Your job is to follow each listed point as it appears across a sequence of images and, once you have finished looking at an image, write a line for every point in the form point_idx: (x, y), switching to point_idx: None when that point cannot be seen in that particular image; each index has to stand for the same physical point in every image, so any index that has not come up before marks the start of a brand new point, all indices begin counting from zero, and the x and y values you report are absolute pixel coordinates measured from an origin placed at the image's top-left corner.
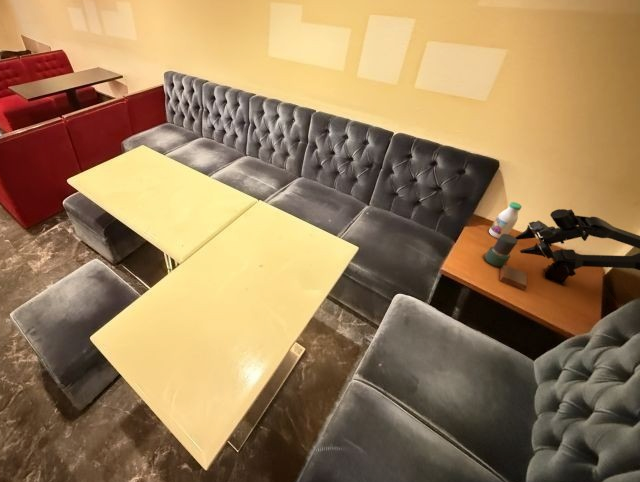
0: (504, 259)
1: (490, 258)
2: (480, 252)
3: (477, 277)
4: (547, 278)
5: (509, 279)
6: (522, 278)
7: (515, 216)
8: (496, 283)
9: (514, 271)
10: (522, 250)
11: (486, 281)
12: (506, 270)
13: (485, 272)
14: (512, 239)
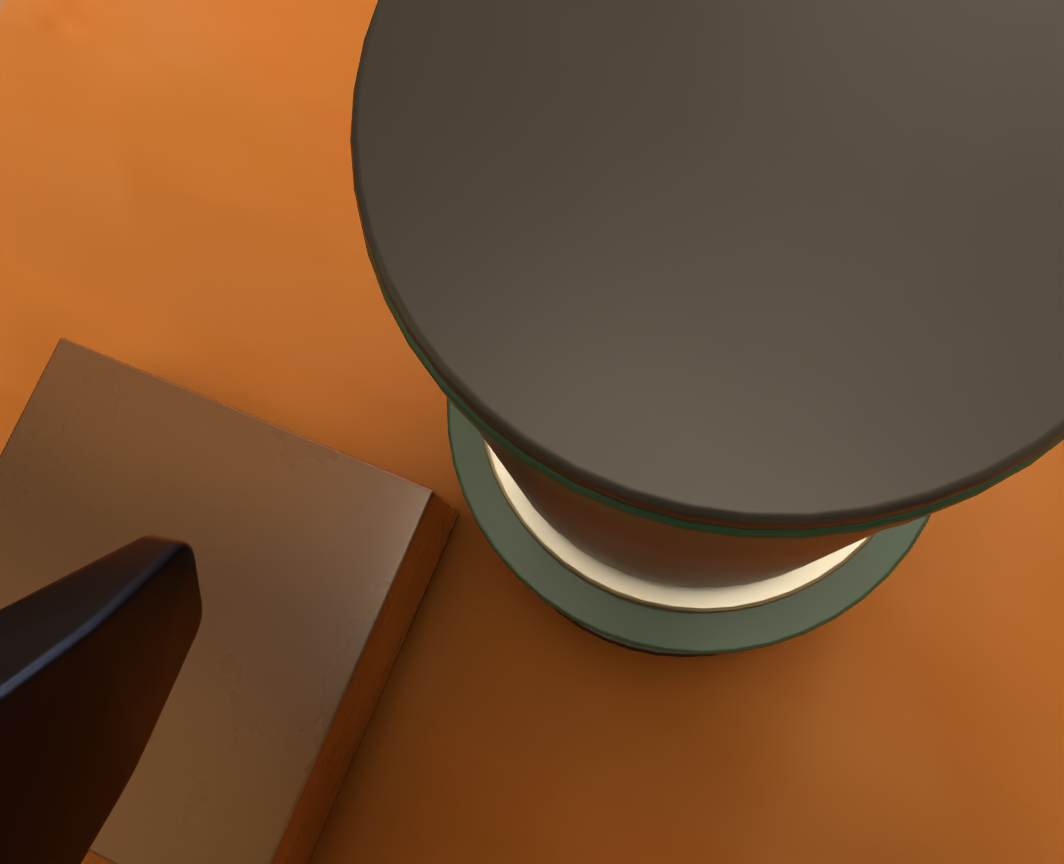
0: (452, 441)
1: None
2: None
3: (153, 26)
4: None
5: (15, 448)
6: None
7: None
8: (60, 292)
9: (249, 649)
10: (67, 577)
11: (83, 142)
12: (251, 478)
13: (302, 193)
14: (708, 237)
